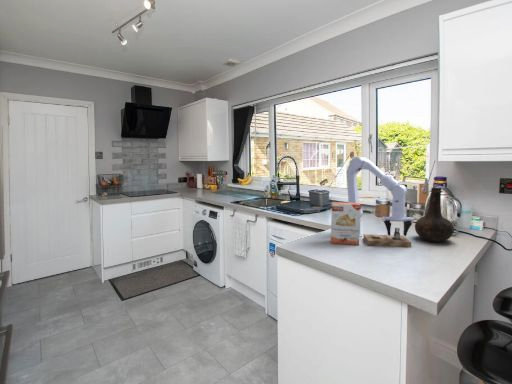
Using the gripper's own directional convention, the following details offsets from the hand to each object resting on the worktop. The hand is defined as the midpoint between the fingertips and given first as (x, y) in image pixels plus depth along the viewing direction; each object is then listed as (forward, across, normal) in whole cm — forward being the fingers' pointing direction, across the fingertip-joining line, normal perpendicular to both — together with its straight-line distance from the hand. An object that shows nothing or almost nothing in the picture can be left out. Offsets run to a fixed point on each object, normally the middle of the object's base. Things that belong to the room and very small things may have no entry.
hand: (396, 235), depth 148 cm
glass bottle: (+4, +21, +9) cm, 23 cm away
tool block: (+4, -5, 0) cm, 7 cm away
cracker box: (+4, -26, -3) cm, 27 cm away
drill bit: (+4, 0, 0) cm, 4 cm away
